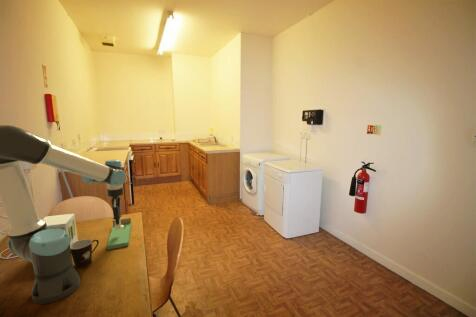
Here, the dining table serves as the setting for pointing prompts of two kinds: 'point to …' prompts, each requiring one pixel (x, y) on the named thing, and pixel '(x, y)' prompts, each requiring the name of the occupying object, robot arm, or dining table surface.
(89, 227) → the dining table surface
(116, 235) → the green
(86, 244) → the coffee mug
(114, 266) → the dining table surface
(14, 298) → the dining table surface
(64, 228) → the supplement box
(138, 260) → the dining table surface
